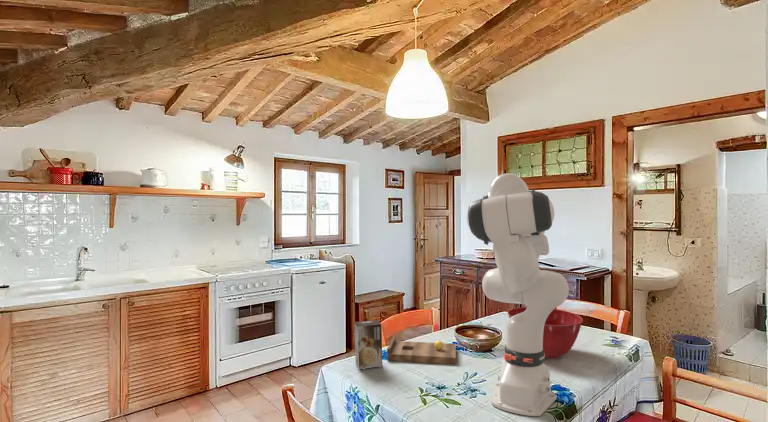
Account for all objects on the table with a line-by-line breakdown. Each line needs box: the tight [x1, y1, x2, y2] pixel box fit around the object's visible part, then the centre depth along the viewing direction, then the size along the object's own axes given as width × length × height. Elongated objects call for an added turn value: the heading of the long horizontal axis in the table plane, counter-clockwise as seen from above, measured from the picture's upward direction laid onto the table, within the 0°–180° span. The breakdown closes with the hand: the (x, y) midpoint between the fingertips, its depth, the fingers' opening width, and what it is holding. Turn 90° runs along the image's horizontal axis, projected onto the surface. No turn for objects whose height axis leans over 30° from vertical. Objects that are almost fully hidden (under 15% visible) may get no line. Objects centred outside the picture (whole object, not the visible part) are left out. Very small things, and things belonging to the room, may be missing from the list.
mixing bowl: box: [507, 306, 584, 360], centre depth 164 cm, size 28×28×16 cm
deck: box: [386, 335, 457, 365], centre depth 162 cm, size 26×16×4 cm, turn 80°
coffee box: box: [354, 320, 383, 370], centre depth 151 cm, size 9×6×16 cm
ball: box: [434, 340, 443, 350], centre depth 161 cm, size 4×4×4 cm
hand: (521, 266), depth 154 cm, fingers open, 8 cm apart
